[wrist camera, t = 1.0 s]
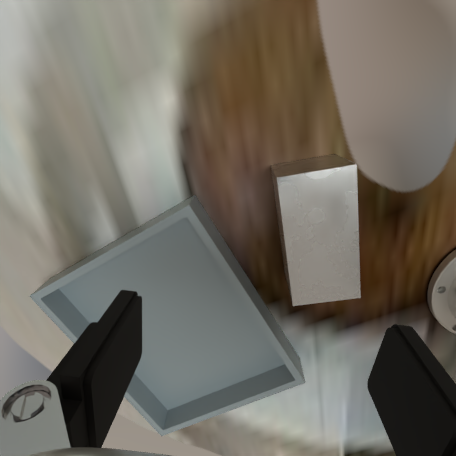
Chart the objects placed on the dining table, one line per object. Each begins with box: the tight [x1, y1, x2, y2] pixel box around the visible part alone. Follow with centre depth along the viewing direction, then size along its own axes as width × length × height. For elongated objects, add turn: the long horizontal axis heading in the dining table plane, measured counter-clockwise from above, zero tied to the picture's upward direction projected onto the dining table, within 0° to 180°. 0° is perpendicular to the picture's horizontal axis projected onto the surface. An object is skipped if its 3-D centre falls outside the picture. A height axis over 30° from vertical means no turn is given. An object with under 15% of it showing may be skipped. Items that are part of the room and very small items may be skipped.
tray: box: [30, 195, 305, 436], centre depth 34 cm, size 24×20×4 cm
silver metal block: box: [271, 154, 361, 306], centre depth 28 cm, size 12×6×6 cm, turn 10°
